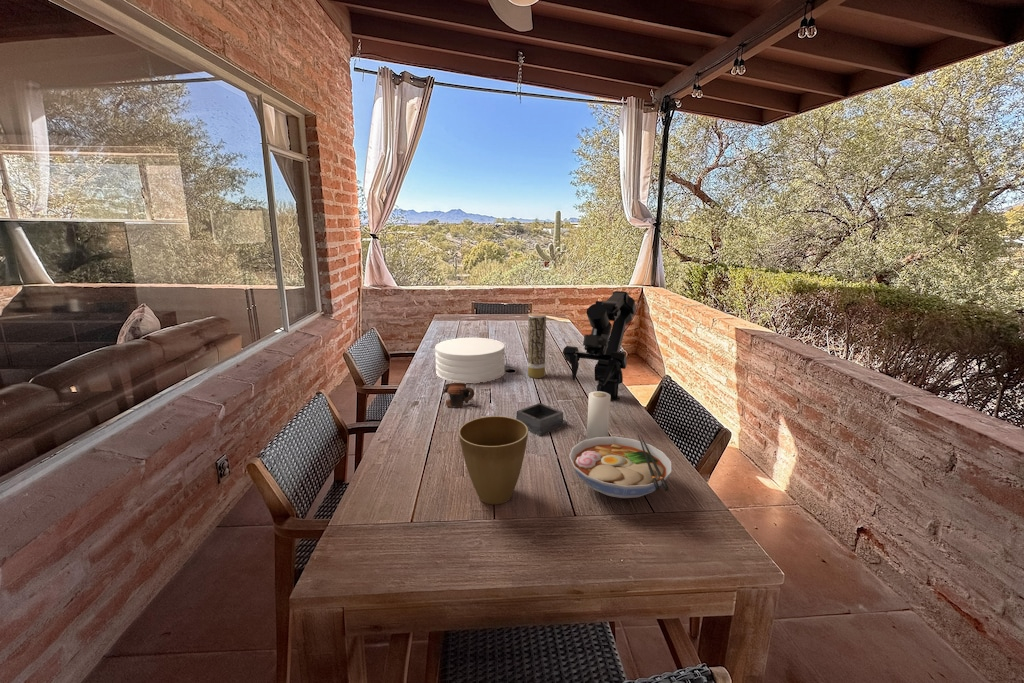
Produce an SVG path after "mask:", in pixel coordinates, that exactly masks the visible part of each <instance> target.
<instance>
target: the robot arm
mask: <svg viewBox="0 0 1024 683" xmlns="http://www.w3.org/2000/svg"><path fill="white" fill-rule="evenodd" d="M636 312H637V304H636V300H635V299H634V298H633V297H631V296H630V295H629V292H627V291H622V290H621V291H620V290H616V291H613V292H612V295H610V297H608V299H606V300H596V301H595V303H593V304H591V305H590V306H589V307H587V309H586V317H587V320H588V322H589V325H590V327H591V328H592V329H591V331H590V334H584V336H583V337H584V338H583V342H582V346H584V348H583V349H584V351H579V348H578V347H577V346H573V345H566V346H565V347H564V348H563V350H562V354H563V356H564V358H565V361H567V362H568V363H569V364H570V366H571V374H572V375H571V378H572V380H573V381H575V380H576V377H577V374H578V370H579V366H580V363H579V361H580V359H586V360H591V361H592V360H594V361H596V364H595V366H594V371H593V372H594V381H595V382H598V384H597V385H596V391H601V392H606V393H609V394H610V395H611V399H610V401H615V400H617V399H618V400H621V397H620V396H619V385H620V384H623V382H624V380H623V378H624V377H623V370H625V369H626V368H627V364H628V360H627V359H628V358H627V356H626V354H625V352H624V351H620V350H621V346H622V343H623V340H624V334H625V330H626V327H627V325H628V324H629V323H630V322H632V320H633V318H634V315H635V314H636ZM611 322H613V323H611ZM585 351H586V352H585ZM622 369H623V370H622Z"/></svg>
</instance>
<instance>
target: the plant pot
mask: <svg viewBox="0 0 1024 683" xmlns="http://www.w3.org/2000/svg"><path fill="white" fill-rule="evenodd" d="M528 435H529V431H528V428H527V426H526V425H525V424H524V423H523V422H521V421H519V420H517V418H513V417H510V416H500V415H491V416H483V417H477V418H475V419H471V420H469V421H466V422H465V423H464V424H463V425H461V426H460V428H459V430H458V436H459V441H460V447H461V451H462V455H463V458H464V463H465V465H466V466H465V467H466V469H467V473H468V475H469V477H470V481H471V482H472V485H473V488H474V489H475V492H476V494H477V495H478V498H479V499H480V501H481V502H483V503H485V504H487V505H502V504H504V503H507V502H508V501H510V499H511V498H512V495H513V493H514V492H515V491H514V490H515V489H516V485H517V483H518V480H519V477H520V474H521V469H522V466H523V462H524V458H525V453H526V448H527V442H528Z"/></svg>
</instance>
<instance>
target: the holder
mask: <svg viewBox="0 0 1024 683" xmlns="http://www.w3.org/2000/svg"><path fill="white" fill-rule="evenodd" d="M516 419H517V420H519V421H521V422H523V423H524V424H525V425H526V426H527V428H528V432H529V431H530V433H531V432H532V434H534V433H535V434H534V435H536V434H537V435H536V436H538V435H539V436H538V437H542V436H544V435H546V433H547V434H549V433H551V432H554V431H556V430H559V429H561V428H563V427H565V425H566V426H568V424H569V422H568V421H567V420H565V419H564V412H563V411H561V410H559V409H556V408H554V407H551V406H549V405H546V404H543V403H541V402H539V403H536V404H534V405H530V406H527V407H524V408H522V409H519V410H516ZM560 427H561V428H560ZM558 428H559V429H558ZM555 429H556V430H555ZM553 430H554V431H553ZM548 432H549V433H548ZM543 434H544V435H543ZM541 435H542V436H541Z"/></svg>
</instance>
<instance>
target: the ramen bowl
mask: <svg viewBox="0 0 1024 683" xmlns="http://www.w3.org/2000/svg"><path fill="white" fill-rule="evenodd" d="M637 436H638V440H637V439H635V438H628V437H621V436H608V437H596V438H592V439H584V440H581V441H580V442H578V443H577V444H575V445H574V446H572V448H571V450H570V453H569V454H568V457H569V459H570V461H571V464H572V466H573V468H574V470H575V473H576V474H577V476H578V477H579V479H581V480H582V481H583V482H584V484H586V485H587V486H588V487H590V488H591V489H592V490H594V491H596V492H598V493H601V494H603V495H606V496H609V497H614V498H619V499H631V498H632V499H633V498H639V497H643V496H646V495H649V494H651V493H653V492H655V491H660V486H663V489H664V491H665V492H669V490H670V488H669V485H668V484H667V482H666V480H667V479H668V478H669V477H670V475H671V473H672V472H673V462H672V460H671V459H670V458H669V457H668V456H667V454H666V453H665V452H664V451H663V450H660V449H659V448H658V447H655V446H654V445H652V444H650V443H647V442H645V440H644V438H643V437H642V435H641V434H637Z"/></svg>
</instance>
